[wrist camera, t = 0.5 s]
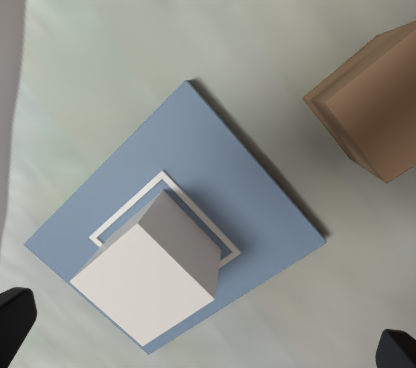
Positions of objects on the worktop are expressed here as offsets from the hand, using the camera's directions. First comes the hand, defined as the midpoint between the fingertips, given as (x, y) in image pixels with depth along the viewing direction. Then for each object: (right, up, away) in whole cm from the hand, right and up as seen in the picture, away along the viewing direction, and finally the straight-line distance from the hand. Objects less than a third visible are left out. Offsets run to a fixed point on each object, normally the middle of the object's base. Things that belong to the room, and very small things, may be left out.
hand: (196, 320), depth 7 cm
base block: (-3, -1, +13) cm, 14 cm away
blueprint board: (-3, -1, +14) cm, 14 cm away
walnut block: (+10, +8, +10) cm, 16 cm away
